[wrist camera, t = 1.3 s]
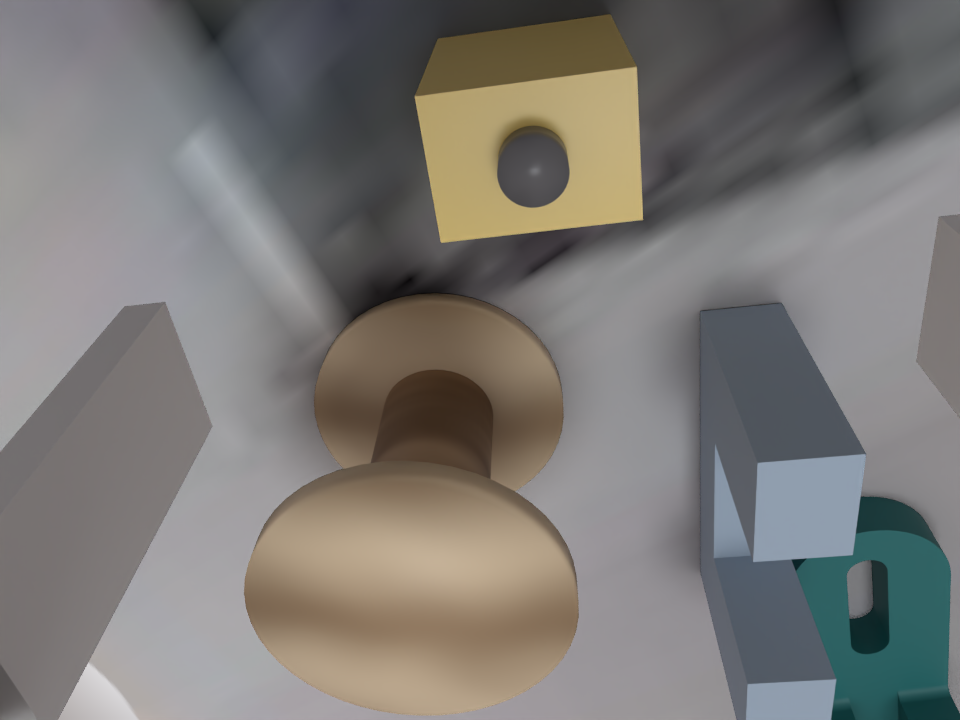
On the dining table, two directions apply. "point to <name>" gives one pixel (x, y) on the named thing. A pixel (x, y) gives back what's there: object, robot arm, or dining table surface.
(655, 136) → the dining table surface
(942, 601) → the bracket
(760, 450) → the notch board
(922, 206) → the dining table surface
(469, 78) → the yellow block
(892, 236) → the dining table surface
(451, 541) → the bobbin
